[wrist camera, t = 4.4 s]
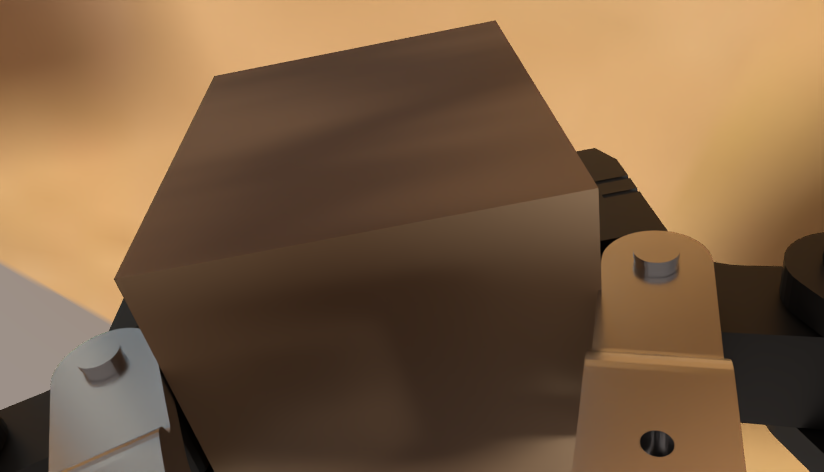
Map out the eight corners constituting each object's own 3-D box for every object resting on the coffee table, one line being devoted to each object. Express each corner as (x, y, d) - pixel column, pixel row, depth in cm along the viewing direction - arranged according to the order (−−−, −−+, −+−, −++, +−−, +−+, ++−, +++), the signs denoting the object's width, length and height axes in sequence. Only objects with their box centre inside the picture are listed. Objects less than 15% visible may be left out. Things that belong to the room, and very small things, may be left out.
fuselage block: (495, 20, 12) (597, 187, 7) (520, 253, 15) (608, 496, 10) (214, 76, 12) (113, 278, 7) (291, 296, 15) (258, 556, 10)
